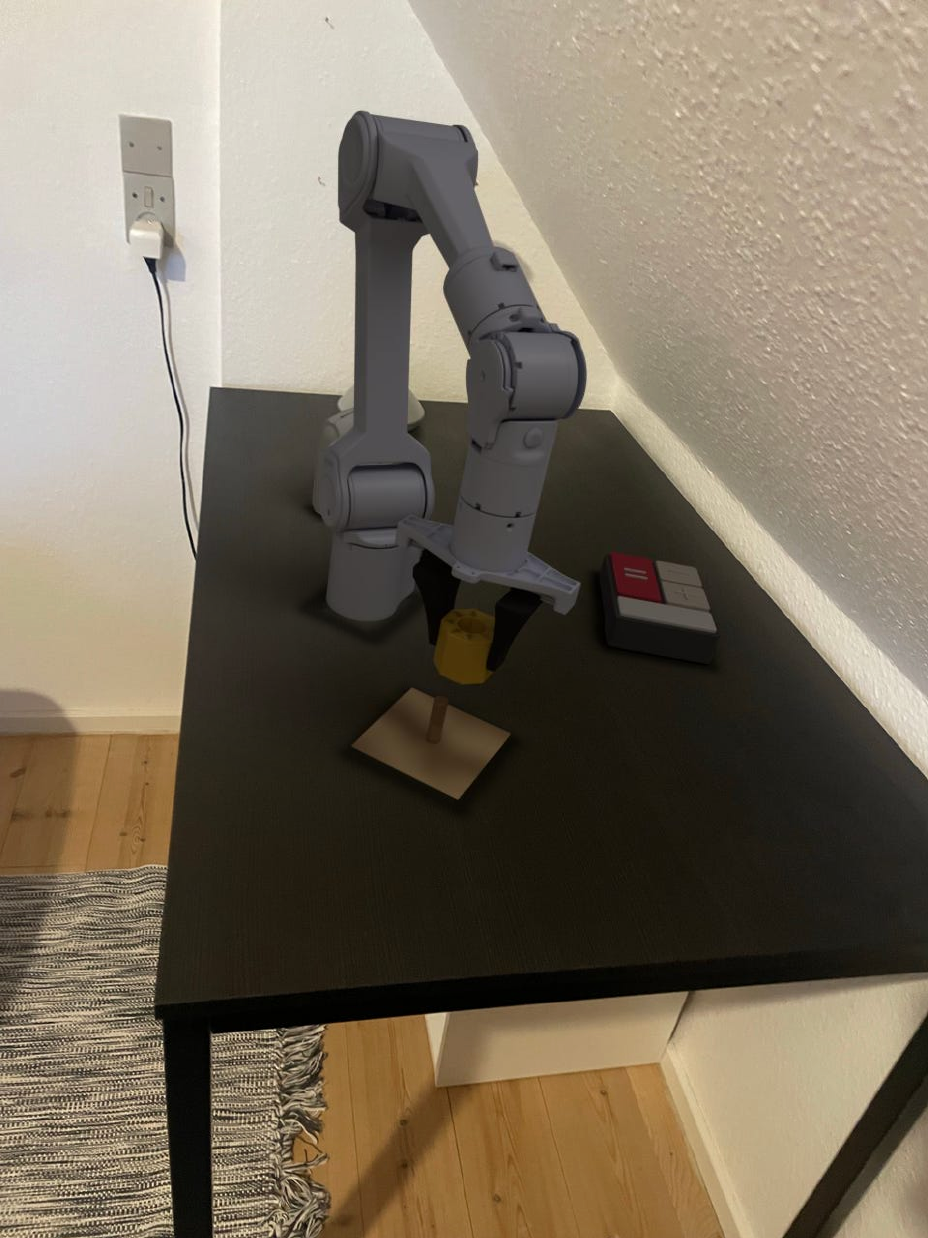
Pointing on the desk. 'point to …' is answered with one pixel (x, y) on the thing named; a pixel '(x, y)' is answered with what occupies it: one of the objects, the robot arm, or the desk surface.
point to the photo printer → (328, 435)
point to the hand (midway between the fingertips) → (466, 651)
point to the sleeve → (464, 646)
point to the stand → (432, 742)
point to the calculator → (657, 608)
